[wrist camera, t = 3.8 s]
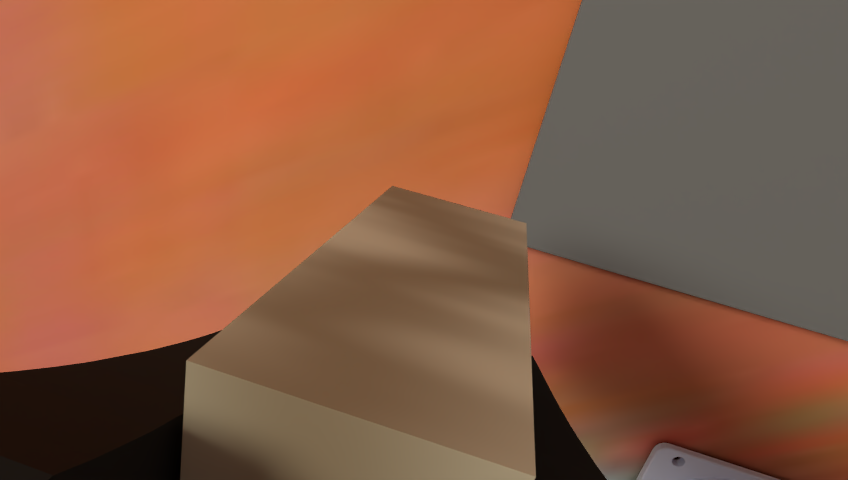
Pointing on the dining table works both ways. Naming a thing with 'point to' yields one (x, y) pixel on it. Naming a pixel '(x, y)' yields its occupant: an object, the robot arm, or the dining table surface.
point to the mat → (703, 153)
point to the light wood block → (376, 358)
